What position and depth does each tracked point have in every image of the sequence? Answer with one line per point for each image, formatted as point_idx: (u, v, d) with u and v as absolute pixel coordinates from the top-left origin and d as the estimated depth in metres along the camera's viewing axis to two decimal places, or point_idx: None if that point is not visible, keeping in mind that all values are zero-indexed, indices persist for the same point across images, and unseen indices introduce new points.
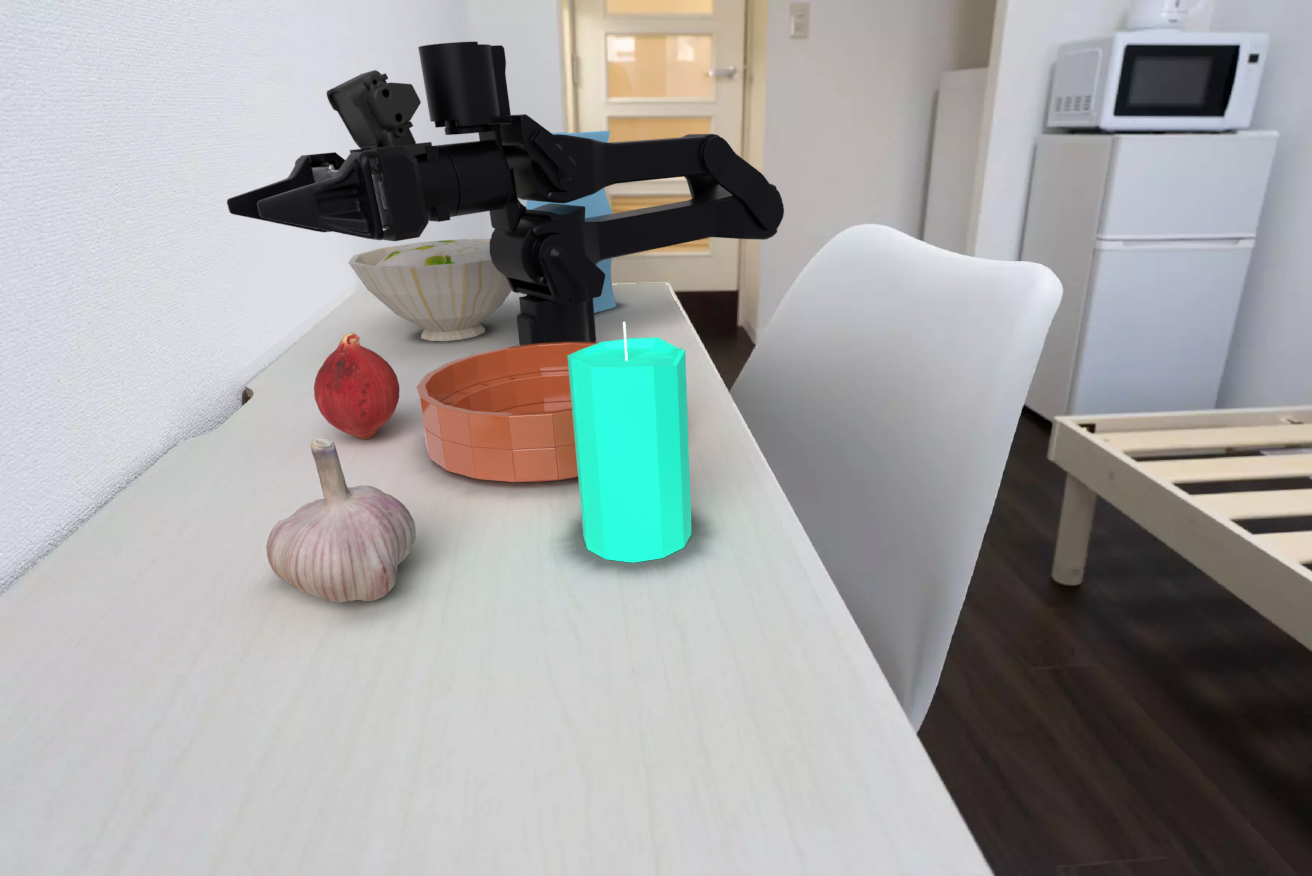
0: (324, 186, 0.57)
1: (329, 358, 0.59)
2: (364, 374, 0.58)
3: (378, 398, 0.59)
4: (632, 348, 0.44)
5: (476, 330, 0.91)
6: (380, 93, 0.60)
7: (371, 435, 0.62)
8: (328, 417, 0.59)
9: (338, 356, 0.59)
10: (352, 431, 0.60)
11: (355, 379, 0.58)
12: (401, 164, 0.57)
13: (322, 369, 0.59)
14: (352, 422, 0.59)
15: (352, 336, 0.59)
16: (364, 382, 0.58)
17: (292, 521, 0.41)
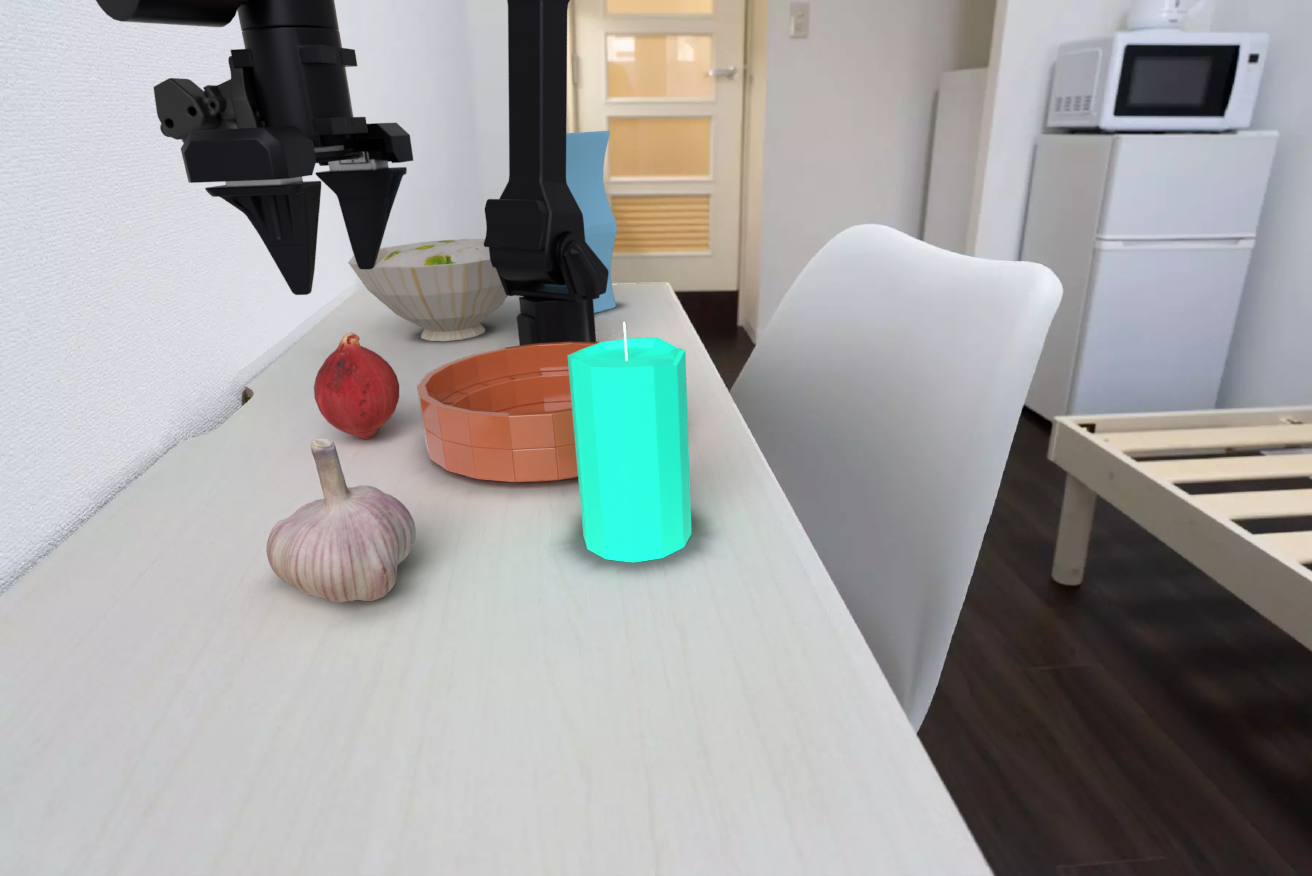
0: (260, 230, 0.51)
1: (329, 358, 0.59)
2: (364, 374, 0.58)
3: (378, 398, 0.59)
4: (632, 348, 0.44)
5: (476, 330, 0.91)
6: (170, 131, 0.51)
7: (371, 435, 0.62)
8: (328, 417, 0.59)
9: (338, 356, 0.59)
10: (352, 431, 0.60)
11: (355, 379, 0.58)
12: (194, 157, 0.46)
13: (322, 369, 0.59)
14: (352, 422, 0.59)
15: (352, 336, 0.59)
16: (364, 382, 0.58)
17: (292, 521, 0.41)
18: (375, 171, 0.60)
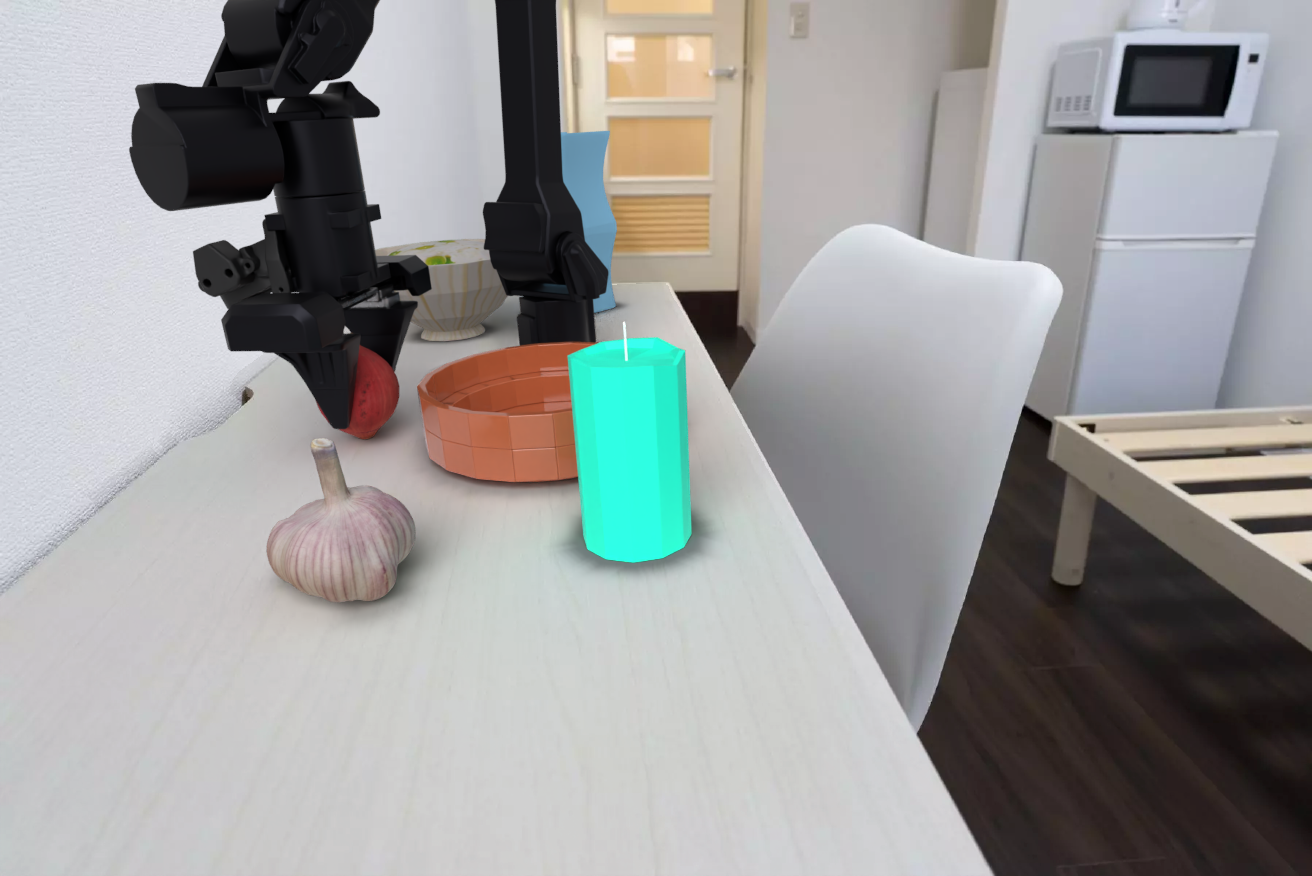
0: (305, 377, 0.56)
1: None
2: (364, 374, 0.58)
3: (378, 398, 0.59)
4: (632, 348, 0.44)
5: (476, 330, 0.91)
6: (208, 289, 0.55)
7: (371, 435, 0.62)
8: None
9: None
10: (352, 431, 0.60)
11: None
12: (234, 329, 0.50)
13: None
14: (352, 422, 0.59)
15: None
16: (364, 382, 0.58)
17: (292, 521, 0.41)
18: (388, 310, 0.62)
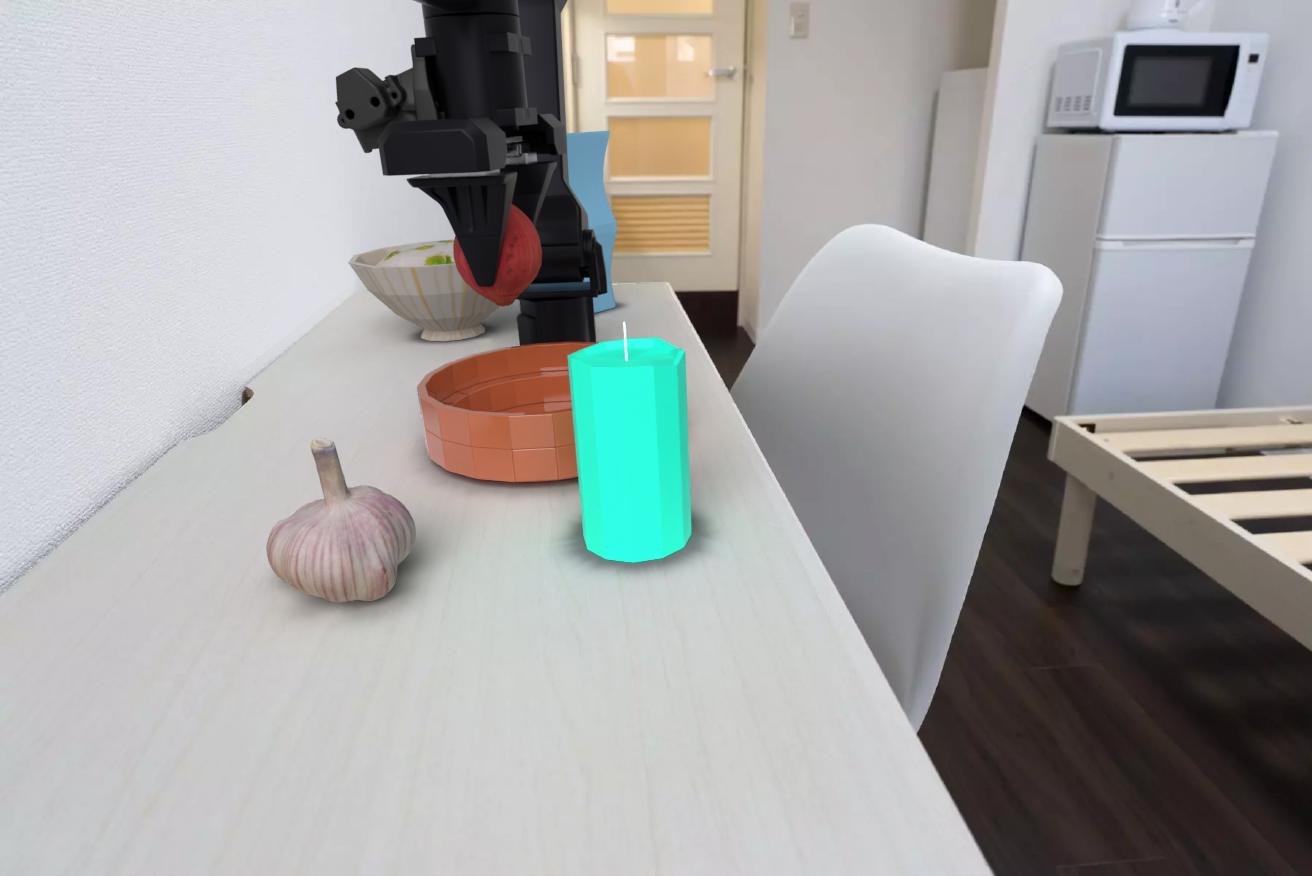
0: (454, 222, 0.51)
1: None
2: (511, 226, 0.53)
3: (525, 254, 0.54)
4: (632, 348, 0.44)
5: (476, 330, 0.91)
6: (350, 122, 0.50)
7: (511, 301, 0.56)
8: (470, 275, 0.54)
9: None
10: (494, 293, 0.55)
11: None
12: (394, 149, 0.45)
13: None
14: (496, 281, 0.54)
15: None
16: (511, 235, 0.53)
17: (292, 521, 0.41)
18: (529, 165, 0.57)
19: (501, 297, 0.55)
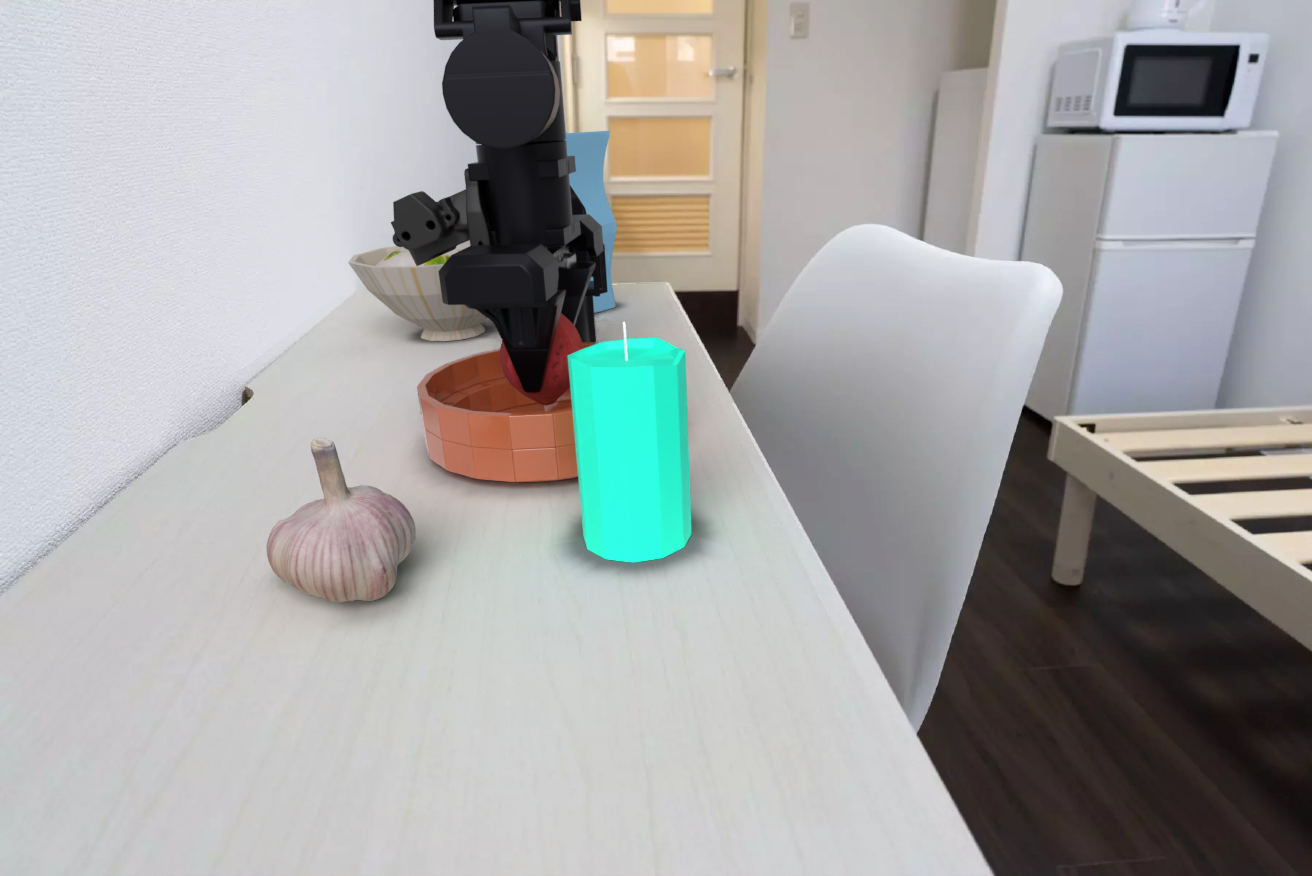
0: (504, 336, 0.53)
1: None
2: (557, 334, 0.56)
3: None
4: (632, 348, 0.44)
5: (476, 330, 0.91)
6: (406, 243, 0.52)
7: (554, 401, 0.59)
8: (517, 381, 0.56)
9: None
10: (539, 396, 0.57)
11: None
12: (455, 281, 0.47)
13: None
14: (542, 386, 0.56)
15: None
16: (557, 343, 0.55)
17: (292, 521, 0.41)
18: (570, 270, 0.59)
19: (545, 399, 0.58)
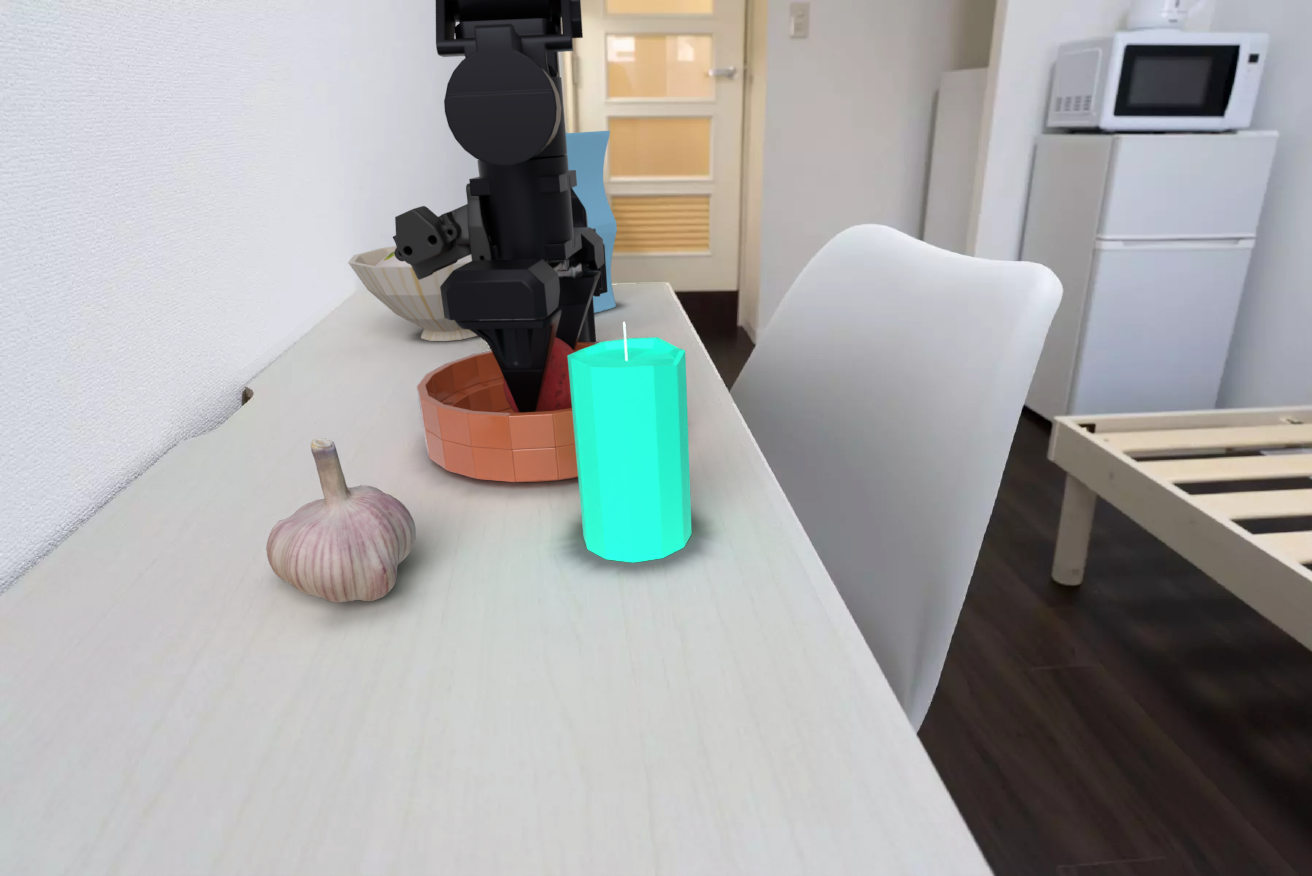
0: (499, 356, 0.52)
1: None
2: (560, 363, 0.56)
3: None
4: (632, 348, 0.44)
5: None
6: (408, 257, 0.52)
7: None
8: None
9: None
10: None
11: (552, 369, 0.56)
12: (456, 297, 0.47)
13: None
14: None
15: None
16: (560, 372, 0.56)
17: (292, 521, 0.41)
18: (576, 279, 0.61)
19: None
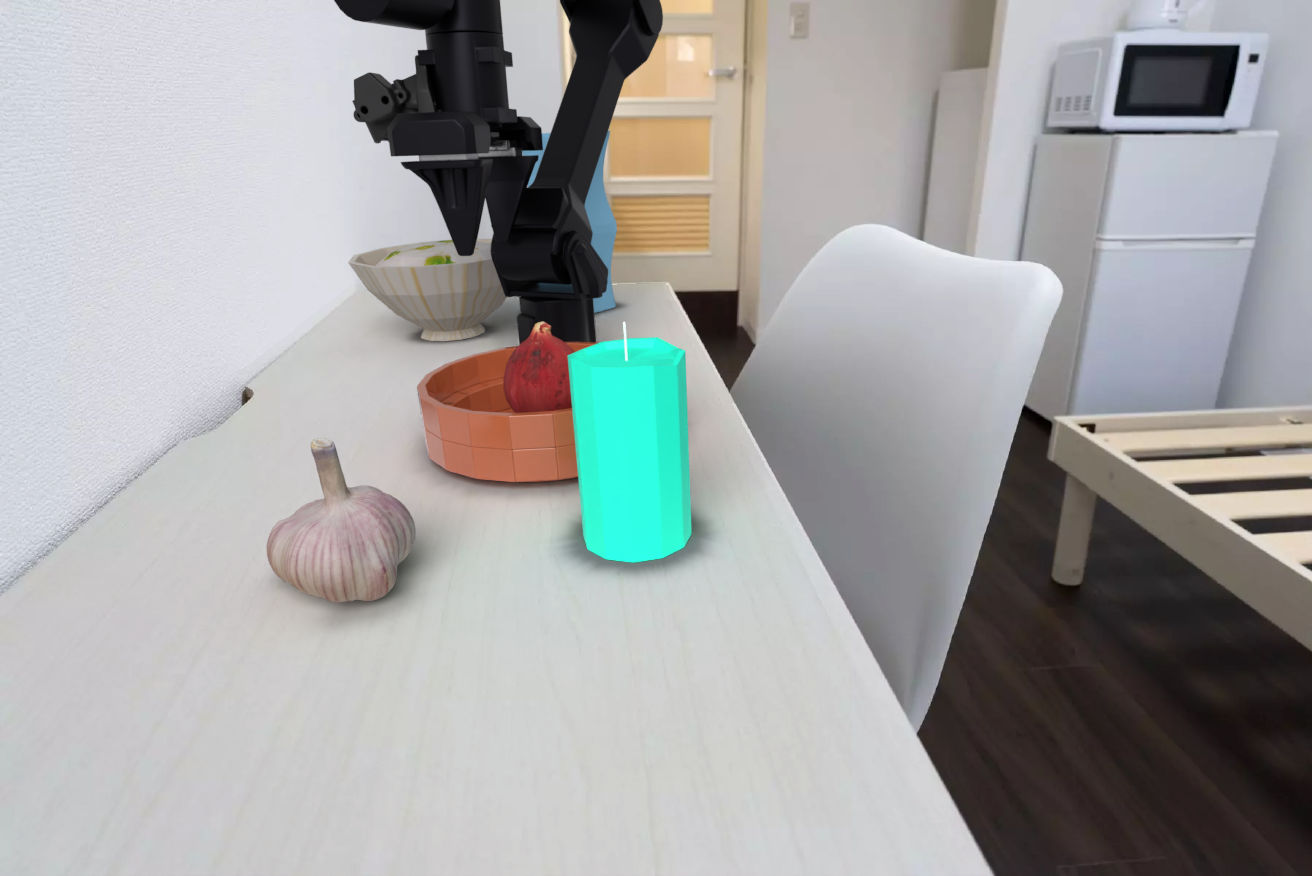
0: (439, 199, 0.61)
1: (522, 347, 0.57)
2: (560, 363, 0.56)
3: None
4: (632, 348, 0.44)
5: (476, 330, 0.91)
6: (364, 116, 0.61)
7: None
8: (520, 409, 0.57)
9: (532, 345, 0.56)
10: None
11: (552, 369, 0.56)
12: (400, 135, 0.56)
13: (515, 359, 0.57)
14: None
15: (544, 324, 0.57)
16: (560, 372, 0.56)
17: (292, 521, 0.41)
18: (515, 157, 0.70)
19: None
